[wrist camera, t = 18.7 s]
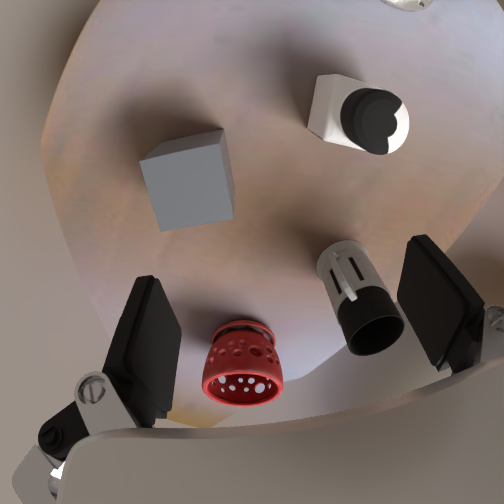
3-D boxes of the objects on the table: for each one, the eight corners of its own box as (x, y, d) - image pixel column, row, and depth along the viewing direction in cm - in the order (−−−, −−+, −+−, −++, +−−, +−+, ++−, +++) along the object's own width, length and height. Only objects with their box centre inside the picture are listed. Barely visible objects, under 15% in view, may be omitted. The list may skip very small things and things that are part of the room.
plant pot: (234, 301, 46) (234, 361, 36) (290, 331, 51) (301, 386, 41) (192, 340, 51) (186, 394, 41) (246, 364, 56) (248, 414, 46)
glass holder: (331, 293, 46) (357, 366, 34) (286, 236, 40) (308, 314, 27) (375, 266, 44) (414, 334, 31) (338, 201, 37) (385, 267, 24)
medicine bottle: (305, 129, 31) (338, 152, 21) (316, 74, 28) (356, 72, 18) (358, 141, 32) (406, 171, 22) (370, 90, 28) (425, 99, 18)
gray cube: (223, 129, 31) (219, 143, 24) (234, 187, 35) (234, 219, 28) (161, 142, 31) (139, 161, 24) (176, 198, 36) (160, 231, 28)
